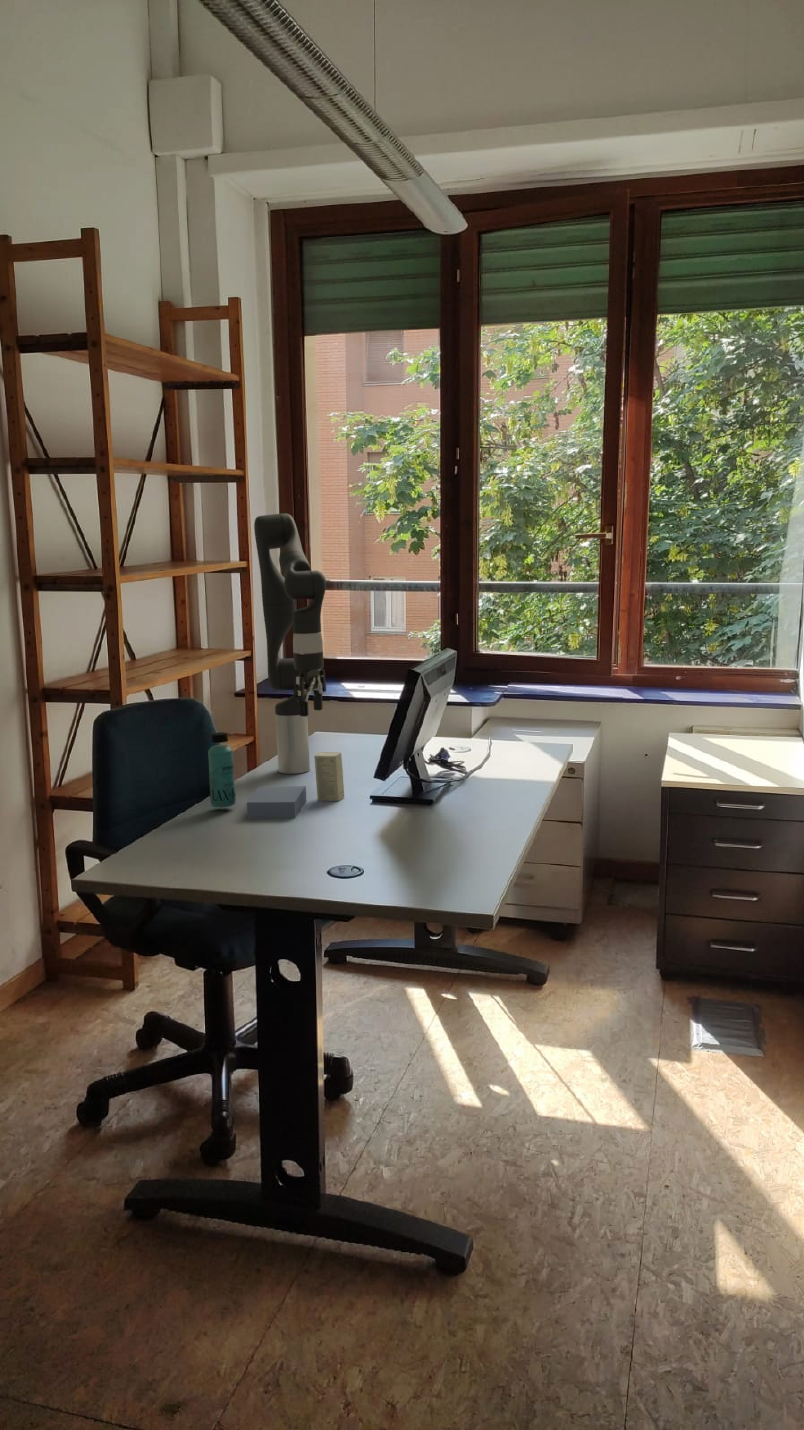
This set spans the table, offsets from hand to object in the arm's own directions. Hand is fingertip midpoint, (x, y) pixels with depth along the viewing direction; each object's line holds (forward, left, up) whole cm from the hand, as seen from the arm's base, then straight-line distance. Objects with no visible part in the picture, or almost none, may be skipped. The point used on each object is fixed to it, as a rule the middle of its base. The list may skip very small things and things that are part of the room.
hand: (311, 713), depth 270 cm
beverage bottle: (+7, -22, -24) cm, 33 cm away
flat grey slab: (+8, -8, -24) cm, 26 cm away
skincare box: (-2, +4, -24) cm, 24 cm away
